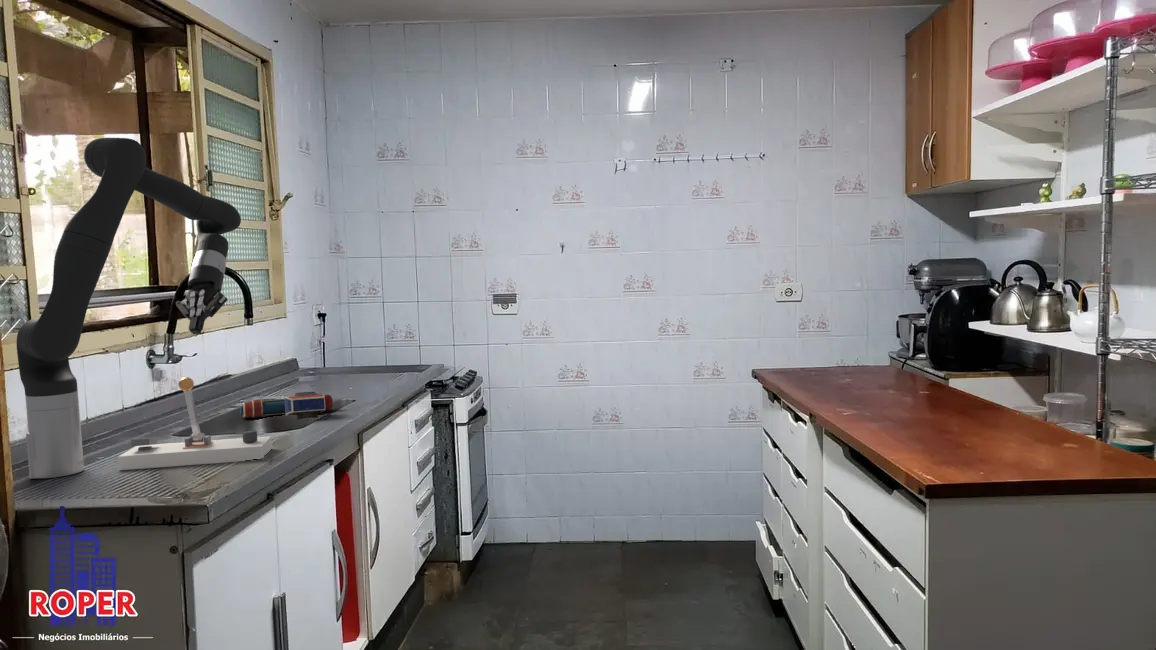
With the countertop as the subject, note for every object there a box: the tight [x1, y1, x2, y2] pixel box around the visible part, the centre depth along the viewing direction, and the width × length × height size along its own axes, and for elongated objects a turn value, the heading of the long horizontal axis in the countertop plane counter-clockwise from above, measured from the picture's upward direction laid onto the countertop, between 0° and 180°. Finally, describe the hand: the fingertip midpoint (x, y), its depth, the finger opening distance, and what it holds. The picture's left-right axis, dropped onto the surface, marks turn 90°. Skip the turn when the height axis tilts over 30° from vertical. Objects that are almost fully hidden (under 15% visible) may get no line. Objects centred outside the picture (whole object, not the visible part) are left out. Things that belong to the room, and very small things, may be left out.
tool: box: [239, 391, 334, 420], centre depth 224 cm, size 8×25×20 cm
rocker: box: [130, 437, 158, 447], centre depth 172 cm, size 5×4×1 cm
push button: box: [242, 430, 258, 442], centre depth 176 cm, size 3×3×2 cm
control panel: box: [117, 434, 273, 471], centre depth 174 cm, size 11×29×5 cm, turn 101°
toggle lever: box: [177, 376, 206, 443], centre depth 171 cm, size 3×3×16 cm
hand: (195, 332), depth 184 cm, fingers closed
